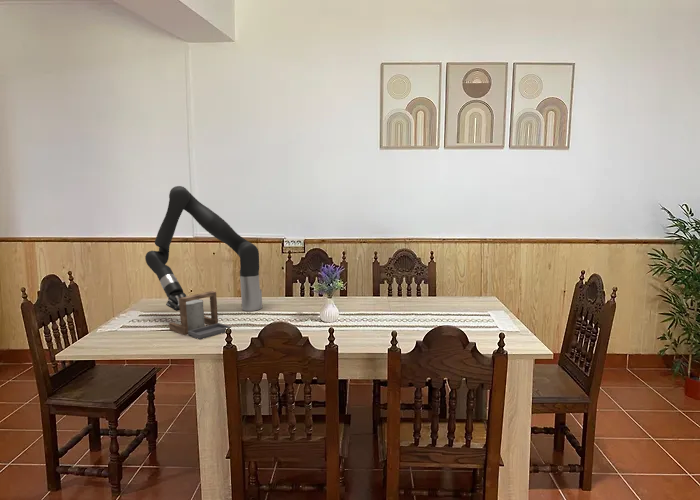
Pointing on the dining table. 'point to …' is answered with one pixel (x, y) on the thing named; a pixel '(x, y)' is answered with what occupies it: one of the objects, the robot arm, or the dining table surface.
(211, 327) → the grey shallow rectangular tray
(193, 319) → the grey upright pillar
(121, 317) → the dining table surface
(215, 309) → the walnut frame
